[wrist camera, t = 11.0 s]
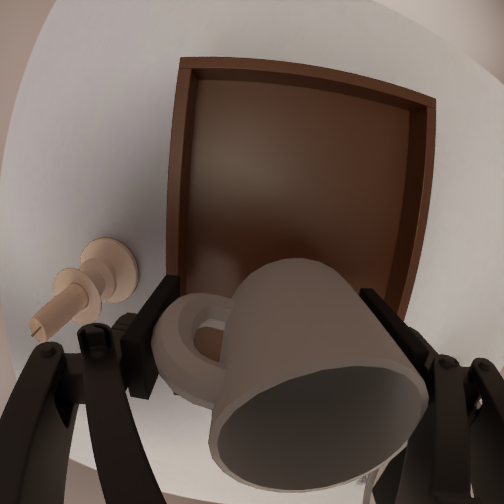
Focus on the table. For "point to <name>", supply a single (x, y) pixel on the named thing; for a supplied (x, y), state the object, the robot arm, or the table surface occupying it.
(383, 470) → the alarm clock
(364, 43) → the table surface
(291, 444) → the cup
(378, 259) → the tray
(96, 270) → the candle
